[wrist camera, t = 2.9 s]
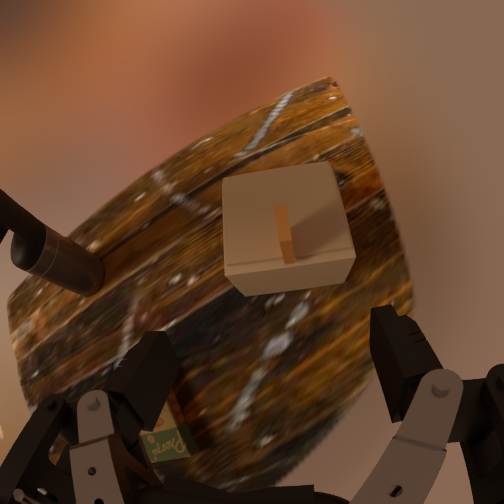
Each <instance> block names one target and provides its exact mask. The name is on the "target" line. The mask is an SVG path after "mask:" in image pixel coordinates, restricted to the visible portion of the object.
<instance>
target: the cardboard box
mask: <svg viewBox="0 0 504 504" xmlns="http://www.w3.org/2000/svg"><path fill="white" fill-rule="evenodd" d="M330 167H331V170H332V173H333V177H334V180H335V183H336V187H337V190H338V194H339V198H340V201H341V205H342V209H343V212H344V216H345V220H346V224H347V228H348V232H349V236H350V241H351V245H352V247H351V249H348V250H342V251H335V252H328V253H322V254H315V255H308V256H301V257H294V258H295V263H293V264H286V265H285V263H284V259H280V260H273V261H266V262H259V263H252V264H245V265H237V266H230V267H228V266H227V265H226V252H225V225H224V192H223V183H222V207H223V239H224V264H225V276H226V277H227V278H228V279H229V280H230V281H231V282H232V283H233V284H234V285H235V286H236V287H237V289H238V290H239V291H240V292H241V293H242V294H243V295H244V296H253V295H261V294H269V293H277V292H285V291H292V290H299V289H306V288H313V287H320V286H327V285H333V284H339V283H344V282H345V280H346V278H347V276H348V274H349V272H350V270H351V267H352V265H353V263H354V261H355V259H356V254H355V250H354V245H353V241H352V237H351V233H350V228H349V224H348V221H347V217H346V213H345V209H344V205H343V202H342V198H341V195H340V191H339V188H338V184H337V181H336V178H335V174H334V171H333V168H332V166H330Z"/></svg>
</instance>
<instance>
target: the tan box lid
mask: <svg viewBox="0 0 504 504" xmlns="http://www.w3.org/2000/svg"><path fill="white" fill-rule="evenodd" d="M223 192H224V225H225V252H226V265H227V266H228V267H230V266H237V265H245V264H252V263H259V262H266V261H273V260H280V259H284V263H285V265H286V264H293V263H295V258H294V257H301V256H308V255H315V254H322V253H328V252H335V251H342V250H348V249H351V247H352V245H351V241H350V236H349V232H348V228H347V224H346V220H345V216H344V212H343V209H342V205H341V201H340V198H339V194H338V190H337V187H336V183H335V180H334V177H333V173H332V170H331V167H330V164H329V161H325V162H317V163H309V164H302V165H295V166H288V167H281V168H275V169H269V170H263V171H257V172H252V173H246V174H241V175H235V176H230V177H225V178H223Z"/></svg>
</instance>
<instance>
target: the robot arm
mask: <svg viewBox="0 0 504 504" xmlns="http://www.w3.org/2000/svg"><path fill="white" fill-rule="evenodd" d="M9 229H10V230H11V231H13V232H14V235H13V239H12V244H11V259H12V262H13V264H14V265H15V266H16V267H18V268H20V269H22V270H24V271H26V272H28V273H31V274H33V275H35V276H37V277H39V278H42V279H44V280H46V281H48V282H51V283H53V284H55V285H58V286H60V287H62V288H65V289H67V290H70V291H72V292H75V293H77V294H80V295H82V296H86V297H88V296H91V295H93V294H94V293H96V291H97V290H98V289H99V287H100V286H101V284H102V281H103V278H104V265H103V263H102V261H101V259H99V258H98V257H96V256H95V255H93V253H91V252H90V251H88V250H86V249H85V248H83V247H81V246H80V245H78V244H77V243H75V242H73V241H72V240H70V239H69V238H67V237H64V236H62V235H60V234H59V233H57V232H56V231H54V230H53V229H51V228H50V227H48V226H47V225H45V224H43V223H42V222H41V221H39V220H38V219H37V218H35V217H34V216H33V215H32V214H31V213H29V212H28V211H27V210H25V209H24V208H23V207H21V206H20V205H19V204H18V203H16V202H15V201H14V200H13V199H12V198H10V197H9V196H8V195H7V194H6V193H5V192H4V191H2V190H1V189H0V243H1V242H2V240H3V238H4V236H5V235H6V233H7V231H8V230H9ZM369 343H370V352H371V356H372V359H373V362H374V365H375V368H376V371H377V374H378V377H379V380H380V384H381V387H382V390H383V394H384V396H385V400H386V403H387V407H388V410H389V414H390V417H391V421H392V423H395V422H399V421H402V424H401V426H400V427H399V430H398V431H397V433H396V435H395V436H394V437H393V438H392V440H391V441H390V443H389V445H388V446H387V448H386V450H385V452H384V453H383V455H382V456H381V458H380V460H379V461H378V463H377V465H376V466H375V468H374V469H373V471H372V472H371V474H370V475H369V477H368V478H367V480H366V481H365V483H364V484H363V486H362V487H361V488H360V490H359V491H358V492H357V494H356V495H355V496H354V498H353V499H352V500H351V502H350V501H348V500H346V499H343V498H341V497H338V496H335V495H331V494H327V493H322V492H314V485H302V486H283V487H270V488H265V489H260V490H255V491H249V492H243V493H235V494H234V493H228V492H225V491H222V490H219V489H216V488H213V487H210V486H208V485H205V484H202V483H199V482H195V481H189V480H183V479H177V478H172V477H167V476H166V478H165V481H164V484H162V482H161V481H160V480H159V479H158V477H157V476H156V474H155V472H154V470H153V468H152V465H151V462H150V460H149V457H148V454H147V452H146V449H145V446H144V443H143V440H142V438H141V437H140V435H139V434H140V432H141V430H143V431H148V432H153V430H154V428H155V425H156V423H157V421H158V418H159V416H160V414H161V412H162V409H163V407H164V405H165V402H166V400H167V398H168V395H169V393H170V391H171V389H172V386H173V384H174V382H175V380H176V377H177V375H178V373H179V360H178V357H177V355H176V353H175V351H174V349H173V347H172V345H171V342H170V340H169V338H168V336H167V334H166V333H165V332H164V331H147V332H146V333H145V334H144V335H143V337H142V338H141V340H140V341H139V342H138V343H137V344H136V345H135V346H133V347H132V348H131V349H130V350H128V352H127V353H126V355H125V356H124V358H123V360H122V361H121V362H120V364H119V365H118V367H117V368H116V369H115V371H114V372H113V374H112V375H111V377H110V378H109V380H108V381H107V383H106V384H105V386H104V387H103V389H102V390H94V391H91V392H88V393H87V394H85V395H84V396H83V397H82V398H81V399H80V400H79V402H78V403H67V402H66V401H65V400H64V398H63V397H62V396H61V395H60V394H51V395H49V396H47V397H46V398H44V399H43V400H42V402H41V403H40V405H39V406H38V407H37V409H36V410H35V412H34V413H33V415H32V416H31V418H30V419H29V421H28V422H27V424H26V426H25V427H24V429H23V430H22V432H21V433H20V435H19V436H18V438H17V440H16V441H15V443H14V444H13V446H12V448H11V450H10V451H9V453H8V455H7V456H6V458H5V460H4V462H3V463H2V465H1V467H0V504H75V503H76V502H77V504H423V503H424V501H425V499H426V497H427V495H428V493H429V491H430V490H431V488H432V486H433V484H434V481H435V479H436V477H437V475H438V473H439V471H440V468H441V466H442V464H443V461H444V459H445V456H446V452H447V450H445V447H446V444H447V443H451V442H460V445H461V448H462V452H463V456H464V459H465V463H466V467H467V471H468V476H469V480H470V485H471V490H472V495H473V501H474V504H504V364H499V365H496V366H494V367H493V368H491V369H490V370H489V372H488V374H487V376H486V378H482V379H472V380H461V378H460V377H459V376H458V375H457V374H456V373H455V372H453V371H451V370H446V369H444V368H443V367H442V365H441V363H440V361H439V360H438V358H437V356H436V354H435V353H434V351H433V349H432V348H431V346H430V344H429V343H428V341H427V340H426V338H425V336H424V335H423V333H422V332H421V329H420V328H419V326H418V325H417V323H416V322H415V321H414V320H413V319H411V318H410V317H408V316H407V315H403V316H398V315H397V313H396V311H395V309H394V308H393V306H392V305H391V304H390V305H385V306H380V307H375V308H372V309H371V316H370V340H369ZM58 434H59V435H60V437H61V438H62V439H63V440H65V441H66V442H67V445H66V446H65V448H64V450H63V452H62V454H61V456H60V458H59V460H58V462H57V464H56V466H55V465H54V464H53V463H52V462H51V461H50V460H49V457H48V453H49V450H50V448H51V446H52V445H53V443H54V441H55V439H56V437H57V436H58Z"/></svg>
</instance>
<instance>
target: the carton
mask: <svg viewBox="0 0 504 504" xmlns="http://www.w3.org/2000/svg"><path fill="white" fill-rule="evenodd" d="M139 435H140V437H141V438H142V440H143V443H144V446H145V449H146V452H147V454H148V456H149V458H150V460H151V462H152V463H153V462H158V461H165V460H171V459H178V458H184V457H190V456H193V455H194V454H196V453H197V452H198V451H199V448H198V446H197V444H196V442H195V439H194V437H193V435H192V433H191V431H190V429H189V427H188V424H187V422H186V420H185V417H184V415H183V413H182V410H181V408H180V405H179V403H178V400H177V398H176V395H175V393H174V390H173V387H172V389H171V391H170V393H169V395H168V398H167V400H166V402H165V405H164V407H163V409H162V412H161V414H160V416H159V418H158V421H157V423H156V425H155V428H154V430H153V432H148V431H143V430H141V432H140V434H139Z"/></svg>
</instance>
